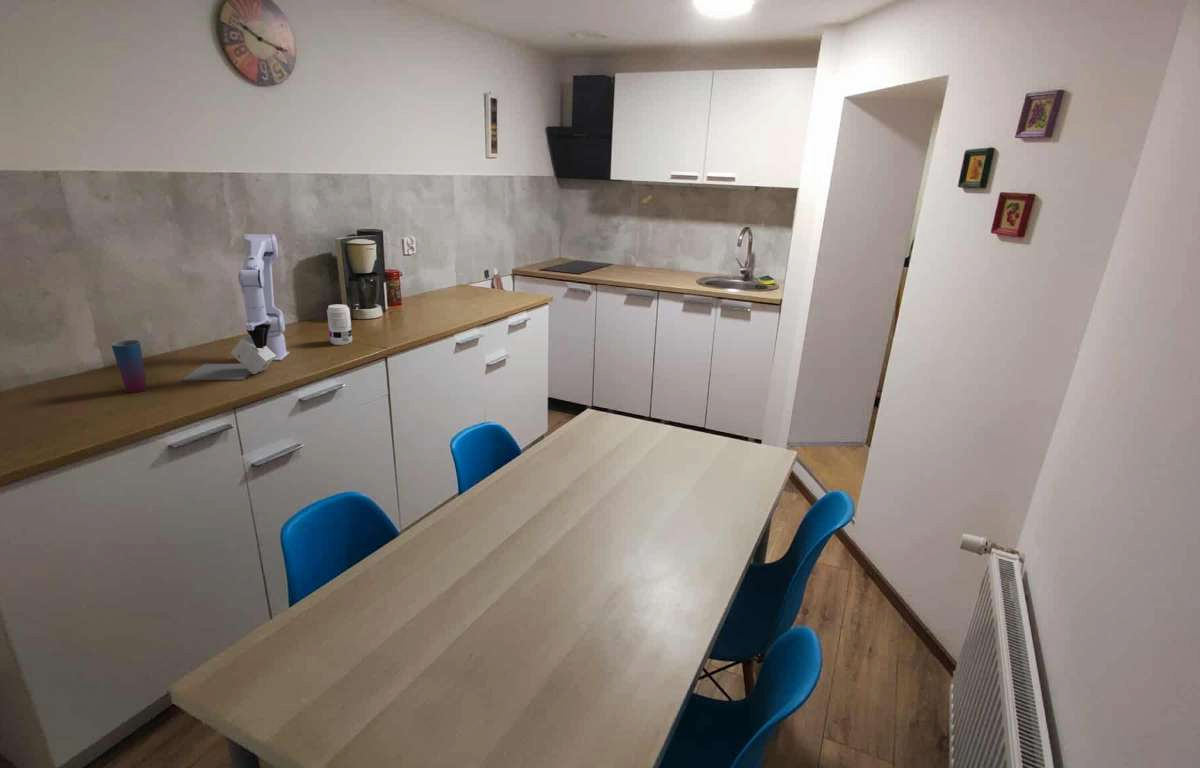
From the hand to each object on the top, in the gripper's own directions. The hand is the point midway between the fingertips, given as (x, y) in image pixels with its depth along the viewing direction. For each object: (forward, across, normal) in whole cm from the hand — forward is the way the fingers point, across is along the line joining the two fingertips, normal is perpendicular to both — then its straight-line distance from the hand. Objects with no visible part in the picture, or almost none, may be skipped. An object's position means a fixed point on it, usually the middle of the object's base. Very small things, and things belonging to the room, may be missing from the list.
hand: (261, 347), depth 197 cm
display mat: (+9, +1, +13) cm, 16 cm away
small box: (+7, 0, 0) cm, 7 cm away
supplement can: (+8, +38, -16) cm, 42 cm away
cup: (+10, -15, +31) cm, 36 cm away
